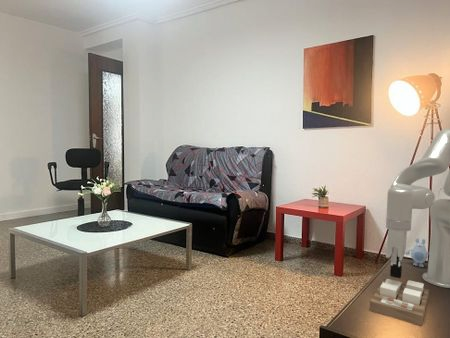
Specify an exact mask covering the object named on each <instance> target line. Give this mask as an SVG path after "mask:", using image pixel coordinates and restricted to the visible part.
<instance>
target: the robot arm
mask: <svg viewBox="0 0 450 338" xmlns="http://www.w3.org/2000/svg"><path fill="white" fill-rule="evenodd" d="M449 166H450V128H445V129H441V130H440V131H439V132H437V134H435V136H434V138H433V139H432V141H431V143H430V144H429V146H428V147H427V150H426V151H425V152H424V154H423V156H422V158H421V159H420V160H417V161H415V162H414V163H412V164H410V165H409V166H407V167H406V168H404V169H402V170H401V171H400V172H399V173H398V174H397V176H395V178H394V180H393V182H392V183H391V185H390V188H388V190H387V198H386V219H385V222H386V223H385V228H386V229H387V230H388V231H387V239H386V252H385V258H387V259H389V258H390V271H389V272H390V274H389V275H390V277H392V278H396V279H401V277H402V272H403V267H402V261H403V258H404V256H405V255H406V254H405V253H406V251H407V248H406V247H407V238H408V237H407V235H408V232H410V231H412V218H413V217H412V215H413V214H412V213H413V209H416V210H425V209H429V215H430V216H429V217H430V223H431V224H430V227H431V229H430V230H431V231H430V232H431V233H430V241H429V251H428V253H429V254H428V263H427V264H428V265H427V272H424V273H422V279H423V280H424V281H425V282H426V283H429V284H431V285H433V286H437V287H439V288H445V289H446V288H447V289H450V199H448V198H439V199H436V197H435V193H434V191H432V190H431V189H430V188H427V187H425V186H420V185H413V184H414V183H415V182H417V181H420V180H422V179H425V178H428V177H433V176H436V175H440V174H442V173H444V172H446V171H447V169H448V168H449ZM442 188H443V190H442V191H443V192H444V194H445V195H446V196H448V197H450V168H449V170H448V172H447V176H446V178H445V180H444V184H443V187H442Z"/></svg>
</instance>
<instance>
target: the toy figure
mask: <svg viewBox="0 0 450 338" xmlns="http://www.w3.org/2000/svg"><path fill="white" fill-rule="evenodd" d="M419 238H420V237H417V238H415V240H414V241H415V245H414V246H413V248H411V249H409V250H405V254H404V255H410V256H411V259H412V260H413V261H414V262H413V263H412V265H413V266H414V265H415V266H414V267H417V266H418V267H420V268H424V264H423V263H425V262H426V261H427V260H428V258H429V251H428V250H427V248H426V245H425V244H426V239H425V238H422V239H421V242H420V239H419ZM410 252H411V253H410Z"/></svg>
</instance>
